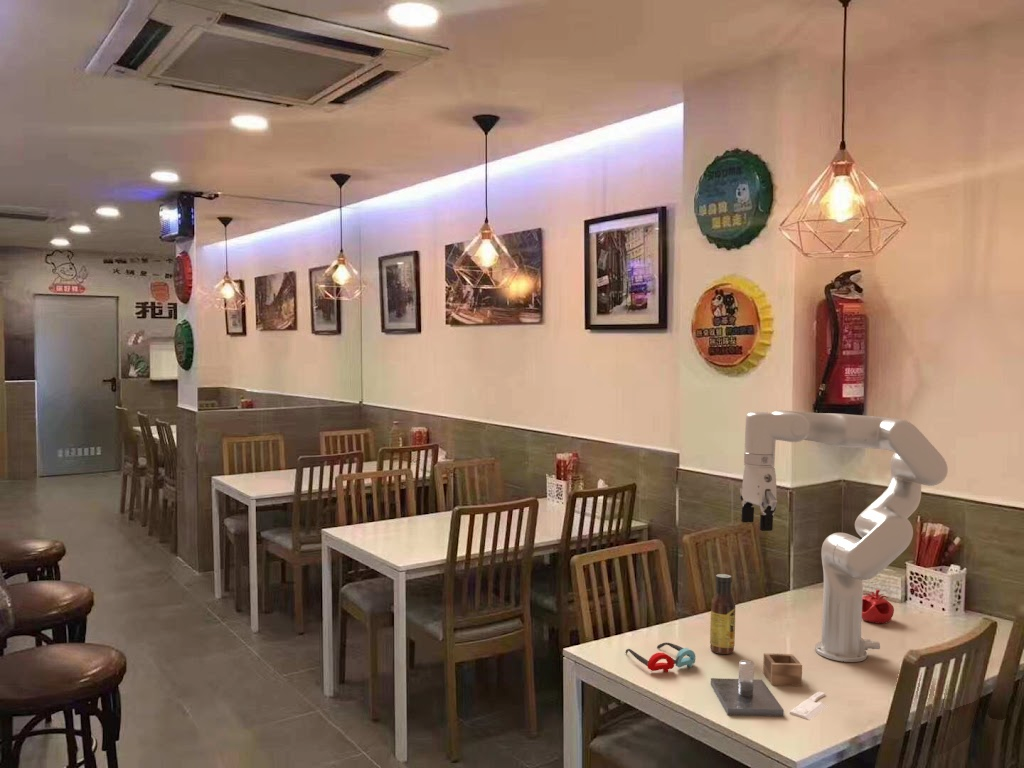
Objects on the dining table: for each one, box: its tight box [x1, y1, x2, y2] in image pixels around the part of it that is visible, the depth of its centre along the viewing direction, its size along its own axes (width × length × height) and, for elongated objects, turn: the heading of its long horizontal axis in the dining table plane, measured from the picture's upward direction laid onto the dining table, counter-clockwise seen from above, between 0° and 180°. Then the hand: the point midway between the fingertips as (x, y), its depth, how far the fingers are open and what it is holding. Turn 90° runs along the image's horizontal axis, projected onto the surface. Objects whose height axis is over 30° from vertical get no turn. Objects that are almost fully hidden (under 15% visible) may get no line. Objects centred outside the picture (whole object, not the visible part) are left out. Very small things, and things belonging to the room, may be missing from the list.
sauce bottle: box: [709, 573, 736, 655], centre depth 212 cm, size 7×6×20 cm
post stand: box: [710, 659, 785, 718], centre depth 182 cm, size 12×16×8 cm
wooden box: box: [762, 652, 803, 687], centre depth 194 cm, size 7×7×5 cm
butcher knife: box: [789, 691, 829, 721], centre depth 179 cm, size 5×15×1 cm, turn 136°
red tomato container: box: [862, 589, 895, 624], centre depth 239 cm, size 10×10×9 cm
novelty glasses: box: [624, 642, 696, 673], centre depth 204 cm, size 14×15×5 cm
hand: (756, 526), depth 208 cm, fingers open, 9 cm apart
